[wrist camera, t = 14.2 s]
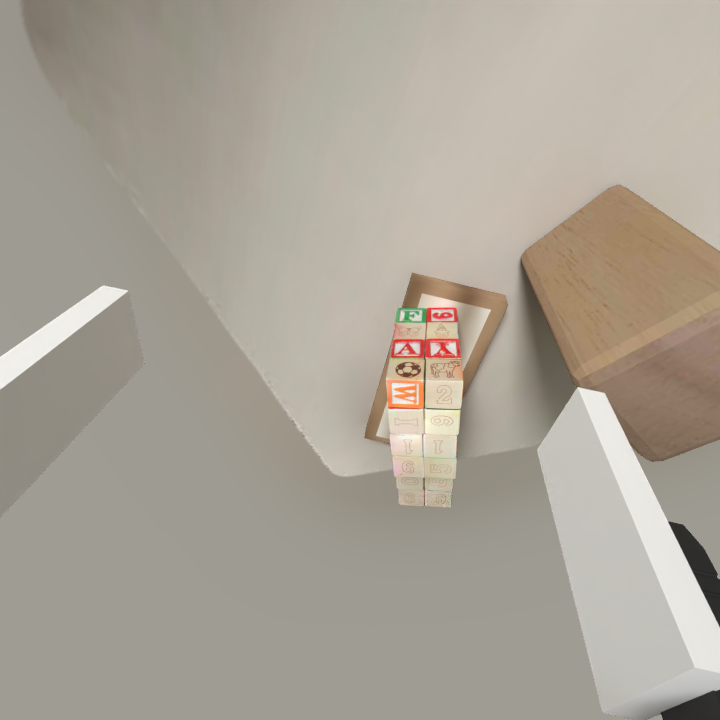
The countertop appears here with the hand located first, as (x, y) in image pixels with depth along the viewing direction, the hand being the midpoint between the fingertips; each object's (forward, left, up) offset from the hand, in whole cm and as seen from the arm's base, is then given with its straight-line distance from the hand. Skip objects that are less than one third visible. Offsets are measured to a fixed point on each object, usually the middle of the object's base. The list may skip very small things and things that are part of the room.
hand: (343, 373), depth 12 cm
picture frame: (-9, +22, -31) cm, 39 cm away
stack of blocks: (-9, +23, -29) cm, 37 cm away
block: (-20, +4, -31) cm, 37 cm away
